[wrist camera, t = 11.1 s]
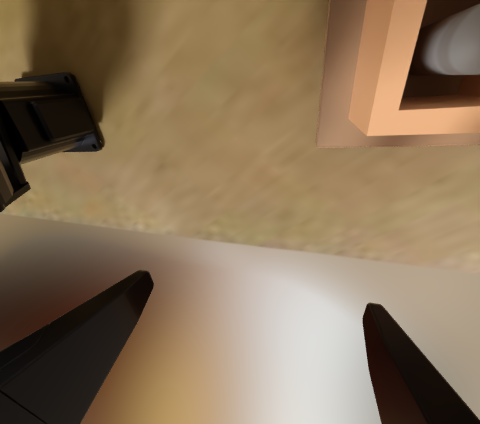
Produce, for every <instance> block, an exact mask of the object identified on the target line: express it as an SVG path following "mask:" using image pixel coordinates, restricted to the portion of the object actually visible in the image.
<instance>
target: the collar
mask: <svg viewBox="0 0 480 424" xmlns="http://www.w3.org/2000/svg"><path fill="white" fill-rule="evenodd" d="M426 3H427V0H367V3H366V10H365V16H364V23H363V29H362V35H361V42H360V48H359V54H358V61H357V67H356V73H355V80H354V86H353V93H352V99H351V105H350V112H349V118H348V119H349V120H350V121H351V122H352V123H354V124H355V125H356V126H357V127H358V128H359V129H360V130H361V131H362V132H363V133H364V134H365V135H366V136H387V135H423V134H459V133H480V74H478V75H464V78H463V81H462V83H461V86H460V89H459V92H458V94H456V95H440V96H425V97H409V98H402V95H403V91H404V87H405V83H406V80H407V76H408V72H409V68H410V64H411V60H412V56H413V53H414V49H415V45H416V41H417V37H418V33H419V30H420V26H421V22H422V18H423V14H424V10H425V6H426Z"/></svg>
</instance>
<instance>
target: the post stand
mask: <svg viewBox="0 0 480 424" xmlns="http://www.w3.org/2000/svg"><path fill="white" fill-rule="evenodd" d="M366 3H367V0H329V7H328V17H327V28H326V39H325V50H324V61H323V72H322V82H321V93H320V104H319V115H318V126H317V136H316V146H317V148H332V147H393V146H454V145H480V133H459V134H423V135H387V136H366V135H365V134H364V133H363V132H362V131H361V130H360V129H359V128H358V127H357V126H356V125H355V124H354V123H352V122H351V121H350V120H349V119H348V118H349V112H350V105H351V99H352V93H353V86H354V80H355V73H356V67H357V61H358V54H359V48H360V42H361V35H362V29H363V23H364V16H365V10H366ZM478 74H480V0H427V3H426V6H425V10H424V14H423V18H422V22H421V26H420V30H419V33H418V37H417V41H416V45H415V49H414V53H413V56H412V60H411V64H410V68H409V72H408V76H407V80H406V83H405V87H404V91H403V95H402V98H409V97H425V96H440V95H456V94H458V92H459V89H460V86H461V83H462V81H463V78H464V75H478Z"/></svg>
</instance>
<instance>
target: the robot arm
mask: <svg viewBox="0 0 480 424" xmlns="http://www.w3.org/2000/svg"><path fill="white" fill-rule="evenodd" d="M68 78H69V79H68ZM69 80H70V81H69ZM96 146H97V147H96ZM101 149H102V144H101V142H100V139H99V137H98V134H97V132H96V129H95V127H94V124H93V122H92V119H91V116H90V114H89V111H88V109H87V106H86V104H85V101H84V99H83V96H82V94H81V91H80V89H79V86H78V83H77V81H76V79H75V77H74V75H73V74H71V73H57V74H49V75H42V76H34V77H27V78H19V79H15V82H0V212H2V211H3V210H4V209H5V207H7V206H8V205H9V204H11V203H12V202H13V201H15V200H16V199H17V198H19V197H20V196H21V195H23V194H24V193H25V192H27V191H28V190H30V189H31V188H30V185H29V183H28V182H27V181H26V179H25V176H24V173H23V171H22V168H21V166H20V164H24V163H27V162H30V161H33V160H37V159H40V158H43V157H46V156H50V155H53V154H56V153H59V152H94V151H99V150H101ZM153 286H154V283H153V280H152V278H151V275H150V273H149V272H148V271H145V270H139V271H137V272H135V273H133V274H132V275H130V276H128V277H126V278H125V279H123V280H121V281H120V282H118V283H116V284H115V285H113V286H111V287H110V288H108V289H106V290H105V291H103V292H101V293H100V294H98V295H96V296H95V297H93V298H91V299H89V300H88V301H86V302H84V303H83V304H81V305H79V306H78V307H76V308H74V309H73V310H71V311H69V312H68V313H66V314H64V315H63V316H61V317H59V318H58V319H56V320H54V321H52V322H51V323H50V324H47V325H46V326H44V327H42V328H41V329H39V330H37V331H36V332H34V333H32V334H31V335H29V336H27V337H26V338H24V339H22V340H20V341H18V342H16V343H14V344H13V345H11V346H9V347H7V348H6V349H4V350H2V351H0V424H80V423H81V421H82V420H83V418H84V416H85V414H86V412H87V411H88V409H89V407H90V406H91V404H92V402H93V400H94V398H95V397H96V395H97V393H98V391H99V390H100V388H101V386H102V384H103V382H104V380H105V379H106V377H107V375H108V374H109V372H110V370H111V368H112V366H113V365H114V363H115V361H116V359H117V357H118V356H119V354H120V352H121V351H122V349H123V347H124V345H125V344H126V342H127V340H128V338H129V336H130V335H131V333H132V331H133V329H134V328H135V326H136V324H137V322H138V320H139V318H140V316H141V314H142V311H143V309H144V307H145V305H146V303H147V300H148V298H149V296H150V294H151V292H152V289H153ZM363 329H364V337H365V345H366V352H367V359H368V367H369V372H370V377H371V381H372V386H373V389H374V394H375V398H376V402H377V406H378V411H379V415H380V419H381V423H382V424H480V420H479V419H478V417H477V416H476V415H475V414H474V413H473V412H472V410H471V409H470V408H469V407H468V406H467V404H466V403H465V402H464V401H463V400H462V399H461V397H460V396H459V395H458V394H457V393H456V392H455V390H454V389H453V388H452V387H451V386H450V385H449V383H448V382H447V381H446V380H445V379H444V377H443V376H442V375H441V374H440V373H439V372H438V370H436V368H435V367H434V366H433V365H432V364H431V362H430V361H429V360H428V359H427V358H426V356H425V355H424V354H423V353H422V352H421V351H420V349H419V348H418V347H417V346H416V345H415V344H414V342H413V341H412V340H411V339H410V338H409V336H407V334H406V333H405V332H404V331H403V329H402V328H401V327H400V326H399V325H398V323H397V322H396V321H395V320H394V319H393V318H392V317H391V315H390V314H389V313H388V312H387V311H386V310H385V308H384V307H383V306H382V305H380V304H374V303H368V304H367V306H366V309H365V312H364V315H363Z"/></svg>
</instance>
